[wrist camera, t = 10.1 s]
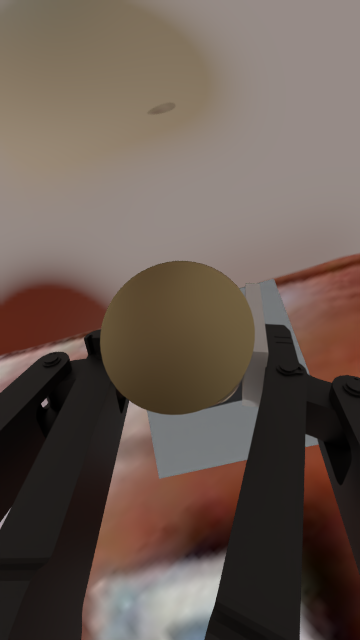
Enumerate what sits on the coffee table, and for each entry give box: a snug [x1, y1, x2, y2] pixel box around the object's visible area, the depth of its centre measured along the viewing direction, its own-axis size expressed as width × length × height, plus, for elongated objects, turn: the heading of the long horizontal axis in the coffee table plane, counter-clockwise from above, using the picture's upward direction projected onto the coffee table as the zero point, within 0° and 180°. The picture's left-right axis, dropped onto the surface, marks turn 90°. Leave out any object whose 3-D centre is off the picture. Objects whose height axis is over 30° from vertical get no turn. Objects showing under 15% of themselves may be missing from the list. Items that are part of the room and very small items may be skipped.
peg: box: [100, 261, 255, 415], centre depth 13 cm, size 4×4×12 cm
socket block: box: [147, 279, 318, 479], centre depth 30 cm, size 16×16×8 cm
